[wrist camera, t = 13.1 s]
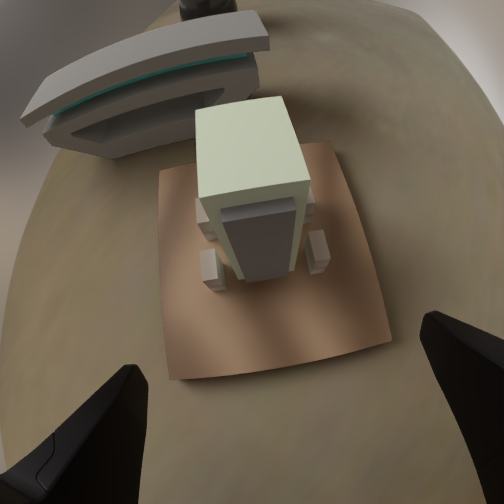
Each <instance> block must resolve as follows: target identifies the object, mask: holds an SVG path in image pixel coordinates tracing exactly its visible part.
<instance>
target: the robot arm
mask: <svg viewBox="0 0 504 504" xmlns="http://www.w3.org/2000/svg"><path fill="white" fill-rule="evenodd" d="M420 340H421V343H422V345H423V347H424V350H425V352H426V355H427V357H428V360H429V362H430V365H431V367H432V370H433V372H434V375H435V377H436V379H437V381H438V383H439V385H440V387H441V389H442V391H443V393H444V395H445V397H446V399H447V401H448V403H449V406H450V408H451V410H452V412H453V414H454V416H455V419H456V421H457V423H458V425H459V428H460V430H461V432H462V435H463V437H464V439H465V442H466V444H467V447H468V449H469V452H470V455H471V457H472V460H473V463H474V465H475V468H476V470H477V474H478V477H479V480H480V483H481V486H482V489H483V493H484V496H485V499H486V503H487V504H504V340H503V339H501V338H498V337H496V336H494V335H492V334H489V333H487V332H485V331H483V330H480V329H478V328H476V327H473V326H471V325H469V324H466V323H464V322H462V321H459V320H457V319H455V318H452V317H450V316H448V315H445V314H443V313H441V312H438V311H432V312H429V313H426V314H425V315H424V317H423V321H422V325H421V330H420ZM147 408H148V382H147V380H146V379H145V377H144V375H143V373H142V372H141V370H140V368H139V367H138V366H137V365H135V364H127V365H124V366H123V367H121V368H120V369H119V370H118V371H117V372H116V373H115V374H114V375H113V376H112V377H111V378H110V379H109V380H108V381H107V382H106V383H105V384H103V385H102V386H101V387H100V388H99V389H98V390H97V391H96V392H95V393H94V394H93V395H92V396H91V397H90V398H89V399H88V400H87V401H86V402H84V403H83V404H82V405H81V406H80V407H79V408H78V409H77V410H76V411H75V412H74V413H73V414H72V415H71V416H70V417H69V418H68V419H67V420H65V421H64V422H63V423H62V424H61V425H60V426H59V427H58V428H57V429H56V430H55V433H54V432H53V433H52V434H51V435H50V436H49V437H48V438H47V439H45V440H44V441H43V442H42V443H41V444H40V445H39V446H38V447H37V448H35V449H34V450H33V451H32V452H31V453H29V454H28V455H27V456H26V457H24V458H23V459H22V460H20V461H19V462H18V463H17V464H15V465H14V466H13V467H11V468H10V469H9V470H7V471H6V472H4V473H3V474H0V504H138V499H139V488H140V477H141V468H142V460H143V452H144V444H145V437H146V429H147Z"/></svg>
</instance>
